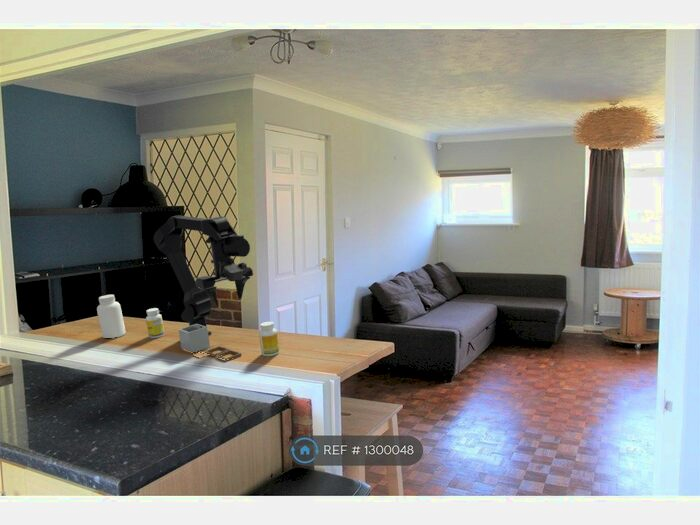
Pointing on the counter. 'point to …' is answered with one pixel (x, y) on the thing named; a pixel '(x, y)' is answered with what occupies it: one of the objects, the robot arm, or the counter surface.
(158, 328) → the supplement bottle
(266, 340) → the supplement bottle
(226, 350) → the holder
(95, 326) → the counter surface
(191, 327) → the gray ball
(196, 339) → the grey open box
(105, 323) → the pill bottle
